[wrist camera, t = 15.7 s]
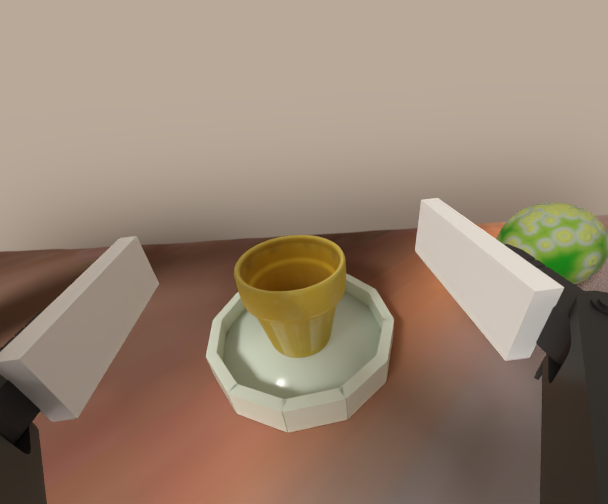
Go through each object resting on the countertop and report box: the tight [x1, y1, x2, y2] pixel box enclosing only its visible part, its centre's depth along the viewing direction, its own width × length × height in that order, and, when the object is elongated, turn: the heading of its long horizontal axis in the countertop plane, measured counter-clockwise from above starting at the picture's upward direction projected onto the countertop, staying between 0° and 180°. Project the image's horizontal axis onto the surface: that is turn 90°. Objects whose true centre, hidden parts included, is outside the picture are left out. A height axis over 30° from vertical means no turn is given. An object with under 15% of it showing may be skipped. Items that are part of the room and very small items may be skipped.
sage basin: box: [206, 273, 394, 433], centre depth 30 cm, size 19×19×3 cm
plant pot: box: [234, 235, 346, 358], centre depth 28 cm, size 10×10×10 cm
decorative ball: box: [496, 203, 608, 284], centre depth 33 cm, size 10×10×10 cm
